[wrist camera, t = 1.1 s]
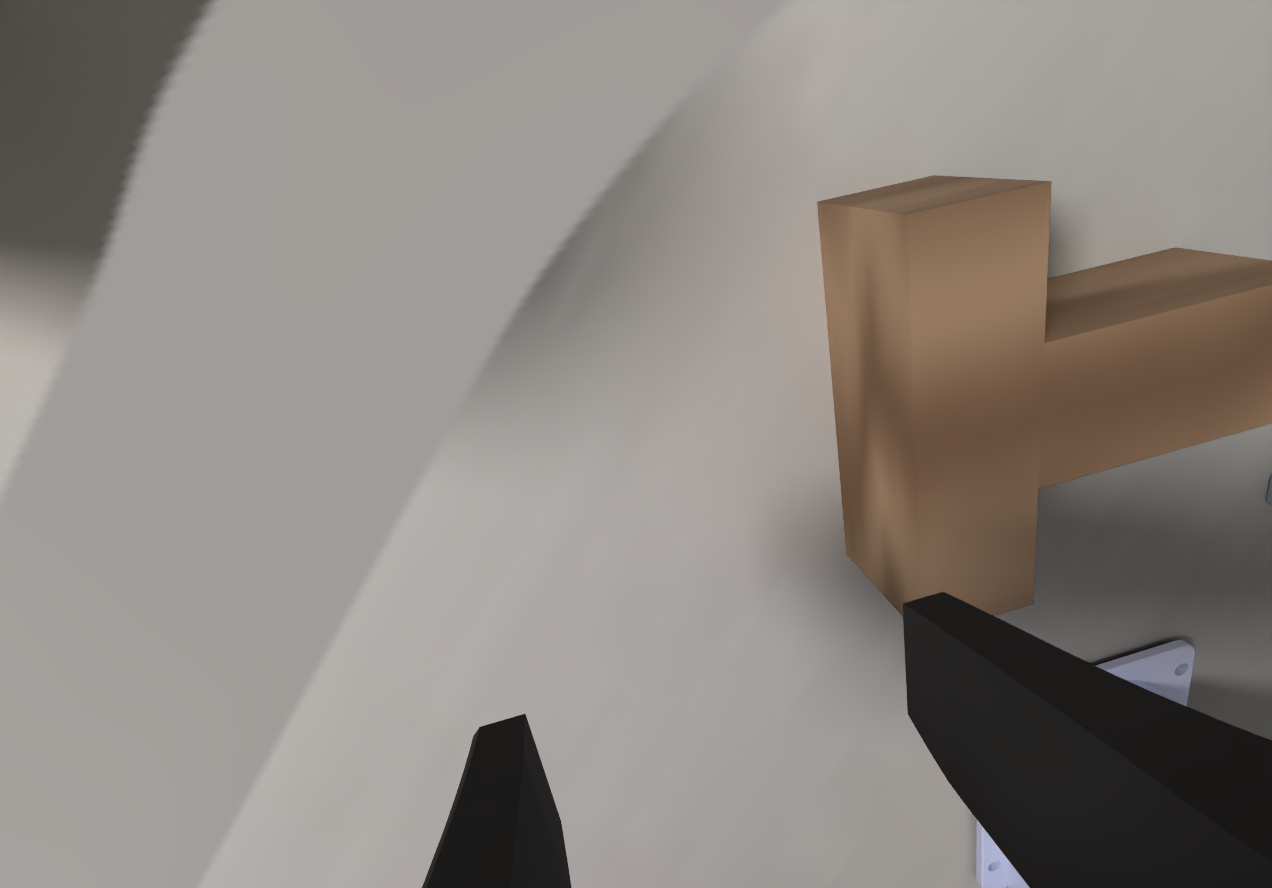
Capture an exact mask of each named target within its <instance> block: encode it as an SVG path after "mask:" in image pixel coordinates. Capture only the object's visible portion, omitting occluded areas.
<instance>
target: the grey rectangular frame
mask: <svg viewBox="0 0 1272 888" xmlns="http://www.w3.org/2000/svg"><path fill="white" fill-rule="evenodd" d="M1266 502H1267V503H1269V504H1271V505H1272V475H1271V479H1270V484H1269V489H1268V495H1267V500H1266Z"/></svg>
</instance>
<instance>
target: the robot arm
mask: <svg viewBox="0 0 1272 888" xmlns="http://www.w3.org/2000/svg"><path fill="white" fill-rule="evenodd" d="M903 621H904V642H905V663H906V684H907V705H908V715H909V717H910V718H911V720H912V722H913V724H914V725H915V727H916V729H917V730H918V732H919V734H920V736H921V737H922V739H923V741H924V742H925V744H926V746H927V748H928V749H929V751H930V753H931V754H932V756H933V757H934V759H935V761H936V762H937V764H938V765H939V767H940V769H941V770H942V772H943V774H944V775H945V777H946V778H947V780H948V782H949V783H950V784H951V786H952V787H953V788H954V790H955V791H956V792H957V794H958V795H959V796H960V798H961V799H962V800H963V802H964V803H965V804H966V806H967V807H968V808H969V810H970V811H971V812H972V813H973V815H974V816H975V817H976V819H977V858H976V880H977V883H978V884H979V886H980V887H981V888H1005V887H1009V888H1272V740H1269V739H1266V738H1264V737H1261V736H1258V735H1255V734H1253V733H1250V732H1248V731H1245V730H1243V729H1240V728H1238V727H1235V726H1232V725H1230V724H1227V723H1225V722H1222V721H1220V720H1217V719H1215V718H1212V717H1210V716H1208V715H1205V714H1203V713H1201V712H1198V711H1196V710H1194V709H1191V708H1189V707H1187V701H1188V695H1189V688H1190V682H1191V676H1192V670H1193V663H1194V657H1195V649H1194V648H1193V647H1192V646H1191V645H1189V644H1188V643H1187V642H1185V641H1183V640H1177V641H1172V642H1169V643H1166V644H1163V645H1160V646H1156V647H1153V648H1150V649H1147V650H1144V651H1140V652H1137V653H1134V654H1131V655H1128V656H1124V657H1121V658H1118V659H1115V660H1112V661H1108V662H1105V663H1102V664H1099V665H1095V666H1094V665H1092V664H1090V663H1088V662H1086V661H1084V660H1082V659H1080V658H1078V657H1076V656H1073V655H1071V654H1069V653H1067V652H1065V651H1063V650H1061V649H1059V648H1057V647H1055V646H1053V645H1051V644H1049V643H1047V642H1045V641H1043V640H1041V639H1039V638H1037V637H1035V636H1033V635H1031V634H1029V633H1027V632H1025V631H1023V630H1021V629H1019V628H1017V627H1015V626H1013V625H1011V624H1009V623H1007V622H1005V621H1003V620H1001V619H999V618H997V617H995V616H993V615H991V614H989V613H987V612H985V611H983V610H981V609H979V608H976V607H974V606H972V605H970V604H968V603H966V602H964V601H962V600H960V599H958V598H956V597H954V596H951V595H949V594H947V593H945V592H940V593H937V594H933V595H930V596H926V597H923V598H920V599H916V600H913V601H909V602H906V603H903ZM422 888H571V882H570V875H569V869H568V862H567V856H566V850H565V844H564V837H563V831H562V825H561V820H560V817H559V814H558V811H557V808H556V805H555V802H554V799H553V796H552V793H551V790H550V787H549V784H548V781H547V778H546V775H545V772H544V769H543V766H542V763H541V760H540V757H539V754H538V751H537V748H536V745H535V742H534V739H533V736H532V733H531V730H530V727H529V724H528V721H527V718H526V715H525V714H523V715H519V716H516V717H513V718H509V719H506V720H502V721H499V722H495V723H492V724H489V725H485V726H482V727H479V729H478V730H477V732H476V733H475V735H474V736H473V740H472V744H471V747H470V751H469V755H468V758H467V761H466V765H465V768H464V772H463V775H462V778H461V781H460V784H459V787H458V790H457V794H456V797H455V799H454V802H453V805H452V808H451V811H450V814H449V817H448V820H447V823H446V826H445V829H444V831H443V834H442V837H441V839H440V842H439V844H438V847H437V850H436V852H435V855H434V858H433V860H432V863H431V866H430V868H429V871H428V873H427V876H426V879H425V881H424V884H423V887H422Z"/></svg>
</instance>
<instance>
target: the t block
mask: <svg viewBox="0 0 1272 888" xmlns="http://www.w3.org/2000/svg"><path fill="white" fill-rule="evenodd" d="M1050 203H1051V181H1033V180H1013V179H993V178H973V177H953V176H929V177H925V178H921V179H916V180H912V181H907V182H903V183H898V184H894V185H890V186H885V187H881V188H876V189H872V190H867V191H863V192H859V193H854V194H850V195H845V196H841V197H837V198H832V199H828V200H823V201H819V202H817V205H818V217H819V229H820V241H821V253H822V265H823V277H824V289H825V302H826V314H827V326H828V338H829V350H830V362H831V374H832V386H833V398H834V410H835V422H836V434H837V446H838V458H839V470H840V482H841V494H842V506H843V518H844V530H845V542H846V554H847V555H848V556H849V557H850V559H851V560H852V561H853V562H854V563H855V564H856V565H857V566H858V567H859V569H860V570H861V571H862V572H863V573H864V574H865V575H866V576H867V577H868V578H869V580H870V581H871V582H872V583H873V584H874V585H875V586H876V587H877V588H878V589H879V591H880V592H881V593H882V594H883V595H884V596H885V597H886V598H887V599H888V601H889V602H890V603H891V604H892V605H893V606H894V607H895V608H896V609H897V610H898V612H899V613H900V614H901V615H902V616H903V603H906V602H909V601H913V600H916V599H920V598H923V597H926V596H930V595H933V594H937V593H940V592H945V593H947V594H949V595H951V596H954V597H956V598H958V599H960V600H962V601H964V602H966V603H968V604H970V605H972V606H974V607H976V608H979V609H981V610H983V611H985V612H987V613H989V614H991V615H993V616H994V615H997V614H1000V613H1004V612H1007V611H1010V610H1014V609H1017V608H1021V607H1024V606H1027V605H1031V604H1034V582H1035V558H1036V534H1037V511H1038V489H1040V488H1043V487H1047V486H1050V485H1054V484H1058V483H1061V482H1065V481H1068V480H1072V479H1075V478H1079V477H1082V476H1086V475H1090V474H1093V473H1097V472H1100V471H1104V470H1107V469H1111V468H1115V467H1118V466H1122V465H1125V464H1129V463H1132V462H1136V461H1140V460H1143V459H1147V458H1150V457H1154V456H1157V455H1161V454H1165V453H1168V452H1172V451H1175V450H1179V449H1182V448H1186V447H1190V446H1193V445H1197V444H1200V443H1204V442H1207V441H1211V440H1215V439H1218V438H1222V437H1225V436H1229V435H1232V434H1236V433H1240V432H1243V431H1247V430H1250V429H1254V428H1257V427H1261V426H1265V425H1268V424H1272V261H1270V260H1262V259H1255V258H1248V257H1240V256H1233V255H1226V254H1218V253H1211V252H1204V251H1196V250H1189V249H1182V248H1171V249H1167V250H1163V251H1159V252H1155V253H1151V254H1147V255H1143V256H1139V257H1135V258H1131V259H1126V260H1122V261H1118V262H1114V263H1110V264H1106V265H1102V266H1098V267H1094V268H1090V269H1086V270H1082V271H1078V272H1074V273H1070V274H1066V275H1062V276H1058V277H1054V278H1050V279H1047V274H1048V251H1049V227H1050Z"/></svg>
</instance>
